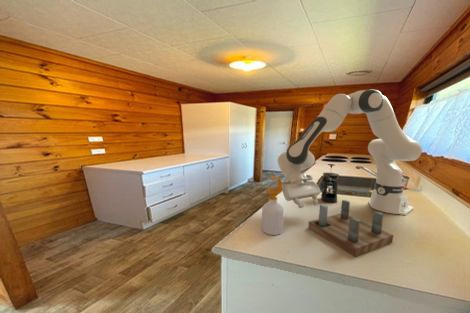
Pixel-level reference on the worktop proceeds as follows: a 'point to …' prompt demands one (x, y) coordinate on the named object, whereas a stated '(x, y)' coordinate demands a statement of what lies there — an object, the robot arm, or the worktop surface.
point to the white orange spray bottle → (273, 212)
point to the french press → (329, 194)
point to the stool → (353, 231)
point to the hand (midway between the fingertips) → (309, 206)
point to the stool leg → (323, 216)
